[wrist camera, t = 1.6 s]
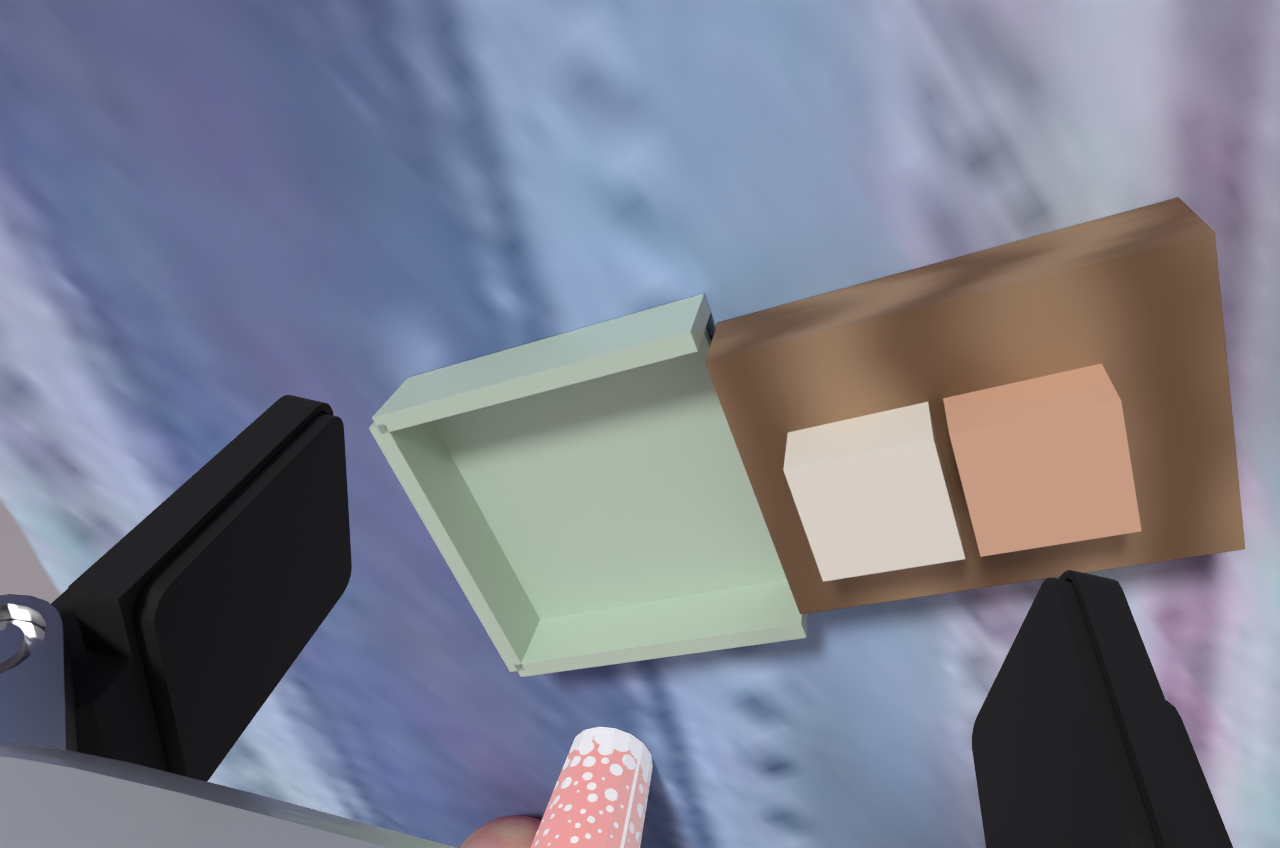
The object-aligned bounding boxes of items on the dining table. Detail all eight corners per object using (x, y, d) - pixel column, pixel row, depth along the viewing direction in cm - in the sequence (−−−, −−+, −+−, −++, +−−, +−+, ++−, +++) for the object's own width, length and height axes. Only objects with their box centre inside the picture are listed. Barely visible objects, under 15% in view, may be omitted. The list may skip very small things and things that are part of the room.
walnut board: (1178, 197, 29) (1214, 232, 26) (1211, 492, 34) (1245, 549, 31) (717, 322, 35) (705, 362, 32) (804, 560, 40) (800, 614, 37)
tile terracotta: (1101, 363, 29) (1121, 400, 27) (1122, 487, 31) (1141, 531, 29) (942, 398, 31) (949, 435, 29) (972, 513, 33) (980, 556, 31)
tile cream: (927, 401, 31) (933, 439, 29) (958, 516, 33) (965, 559, 31) (787, 432, 33) (783, 469, 31) (824, 539, 35) (823, 581, 33)
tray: (703, 293, 34) (690, 331, 31) (809, 583, 40) (806, 637, 38) (400, 379, 39) (363, 419, 36) (535, 626, 45) (513, 677, 42)
